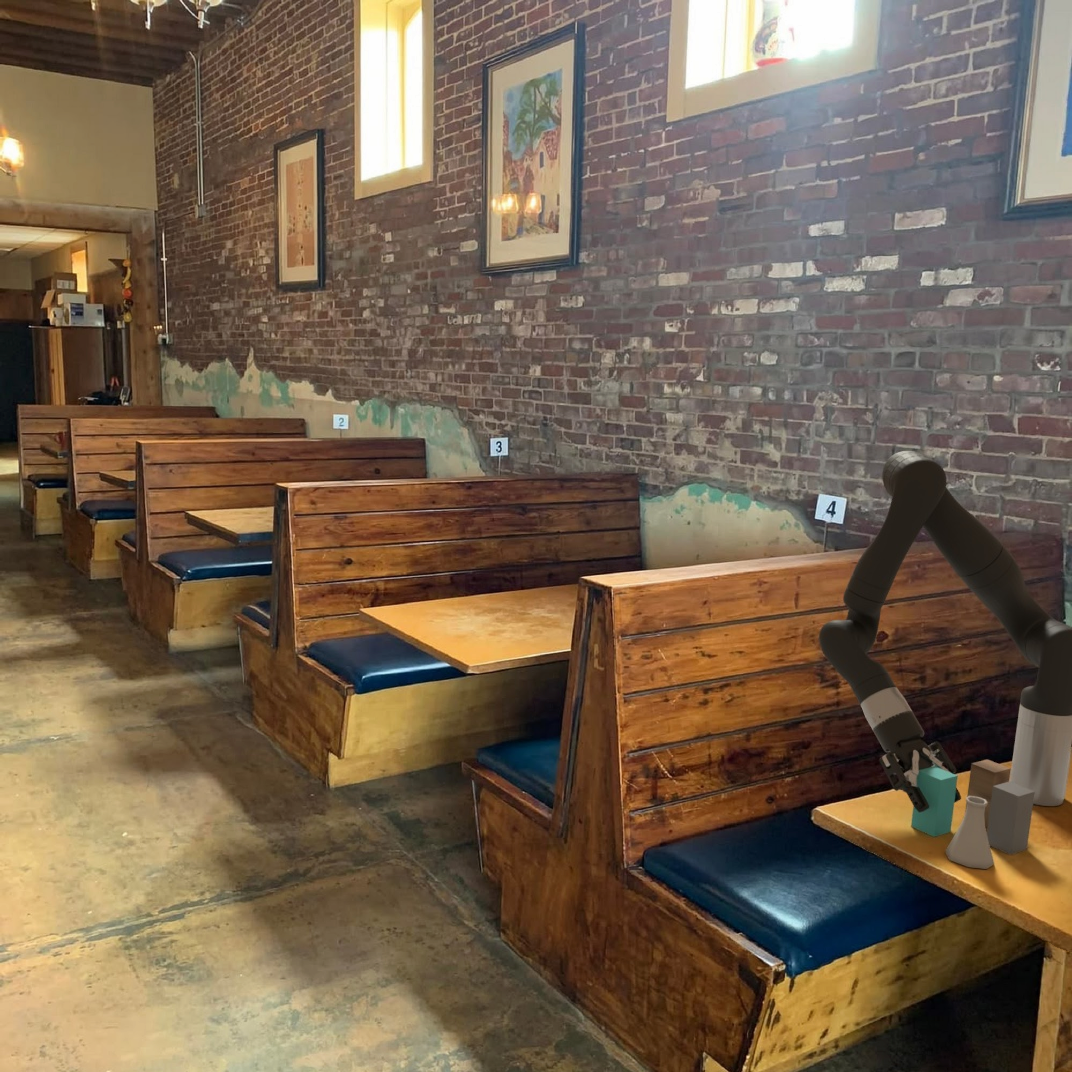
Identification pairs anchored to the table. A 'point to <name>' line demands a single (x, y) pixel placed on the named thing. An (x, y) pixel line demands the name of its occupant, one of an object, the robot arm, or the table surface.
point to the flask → (972, 837)
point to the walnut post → (986, 781)
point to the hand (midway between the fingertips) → (940, 805)
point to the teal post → (935, 801)
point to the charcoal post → (1010, 817)
